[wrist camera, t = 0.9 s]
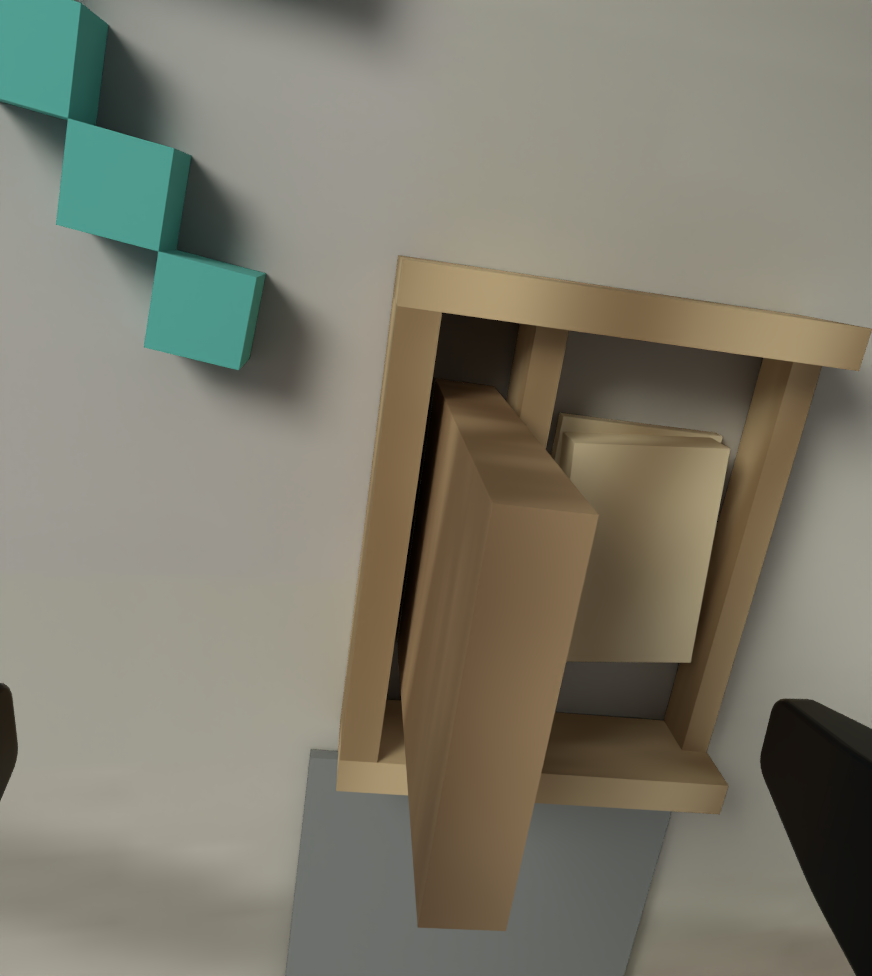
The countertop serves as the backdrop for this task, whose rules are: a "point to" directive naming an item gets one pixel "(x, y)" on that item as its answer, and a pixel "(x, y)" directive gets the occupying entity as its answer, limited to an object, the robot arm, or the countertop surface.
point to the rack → (531, 394)
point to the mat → (456, 952)
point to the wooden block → (483, 648)
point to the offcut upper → (644, 542)
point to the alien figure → (124, 182)
